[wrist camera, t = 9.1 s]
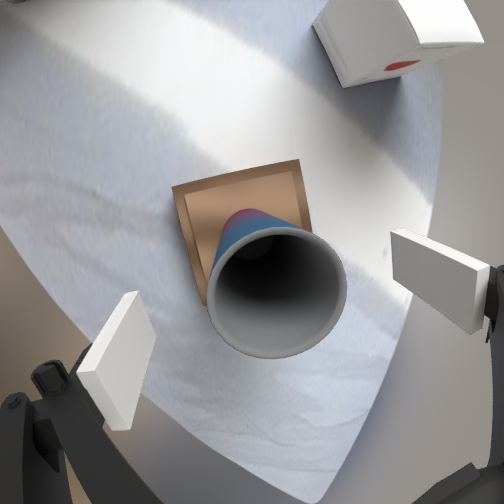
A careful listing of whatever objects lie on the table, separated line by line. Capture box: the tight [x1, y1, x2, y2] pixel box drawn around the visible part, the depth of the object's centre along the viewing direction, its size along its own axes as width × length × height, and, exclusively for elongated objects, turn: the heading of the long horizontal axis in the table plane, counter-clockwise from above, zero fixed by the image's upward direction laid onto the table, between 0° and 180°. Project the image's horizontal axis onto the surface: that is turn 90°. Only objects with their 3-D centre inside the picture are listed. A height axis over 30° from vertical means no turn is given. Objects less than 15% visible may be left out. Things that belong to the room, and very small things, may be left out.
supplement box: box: [312, 0, 484, 88], centre depth 21 cm, size 9×9×15 cm
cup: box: [206, 208, 347, 359], centre depth 22 cm, size 7×7×15 cm
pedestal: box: [172, 159, 312, 306], centre depth 30 cm, size 12×12×3 cm
